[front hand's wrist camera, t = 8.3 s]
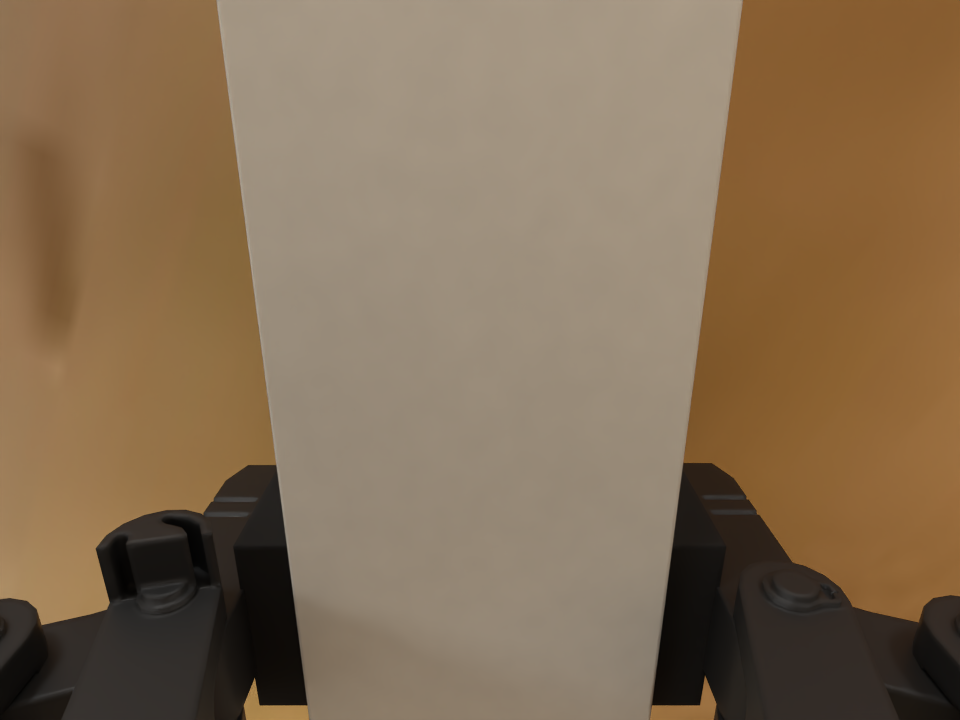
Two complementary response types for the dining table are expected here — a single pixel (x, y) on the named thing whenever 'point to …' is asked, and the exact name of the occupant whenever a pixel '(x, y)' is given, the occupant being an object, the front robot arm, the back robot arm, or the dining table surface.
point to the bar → (479, 334)
